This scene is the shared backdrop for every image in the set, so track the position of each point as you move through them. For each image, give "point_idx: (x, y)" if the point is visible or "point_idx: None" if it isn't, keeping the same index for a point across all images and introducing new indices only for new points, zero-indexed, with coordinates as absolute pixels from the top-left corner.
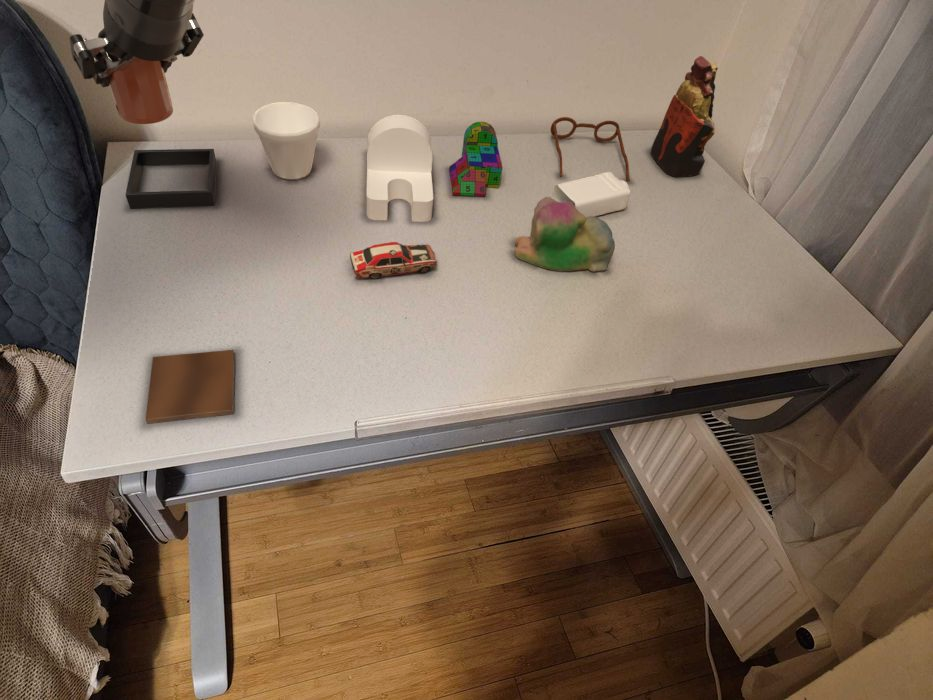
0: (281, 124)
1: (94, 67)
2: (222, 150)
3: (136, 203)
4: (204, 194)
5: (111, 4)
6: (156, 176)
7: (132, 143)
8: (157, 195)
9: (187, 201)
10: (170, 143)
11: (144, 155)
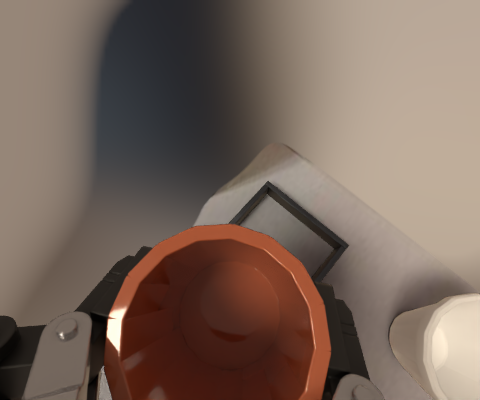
0: (471, 312)
1: (21, 395)
2: (363, 230)
3: None
4: None
5: None
6: (266, 221)
7: (286, 149)
8: None
9: None
10: (320, 176)
11: (273, 192)
